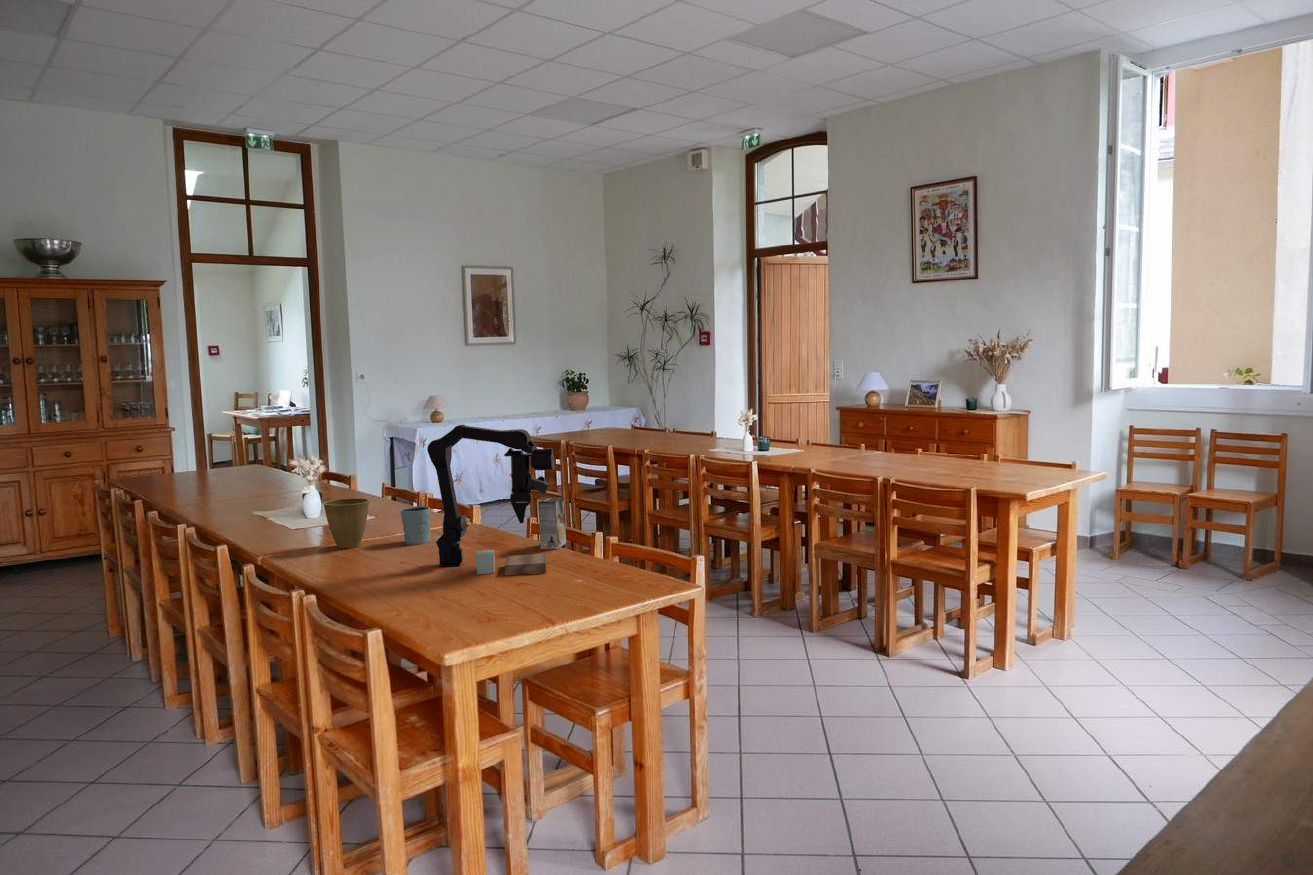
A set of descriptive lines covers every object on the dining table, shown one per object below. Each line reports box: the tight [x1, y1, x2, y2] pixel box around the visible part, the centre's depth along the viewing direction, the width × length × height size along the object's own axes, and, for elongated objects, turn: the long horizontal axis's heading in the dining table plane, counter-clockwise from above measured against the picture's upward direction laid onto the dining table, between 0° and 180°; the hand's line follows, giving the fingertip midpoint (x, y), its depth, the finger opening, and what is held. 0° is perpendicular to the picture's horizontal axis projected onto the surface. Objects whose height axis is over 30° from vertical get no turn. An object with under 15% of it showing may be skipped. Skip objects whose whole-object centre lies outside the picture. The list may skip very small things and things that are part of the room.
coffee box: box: [537, 496, 567, 550], centre depth 295 cm, size 9×6×16 cm
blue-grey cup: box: [400, 506, 431, 546], centre depth 309 cm, size 10×10×12 cm
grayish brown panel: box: [504, 553, 548, 576], centre depth 265 cm, size 12×12×3 cm
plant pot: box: [323, 497, 370, 549], centre depth 305 cm, size 15×15×16 cm
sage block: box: [475, 549, 496, 575], centre depth 263 cm, size 5×5×6 cm
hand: (521, 520), depth 272 cm, fingers open, 9 cm apart
